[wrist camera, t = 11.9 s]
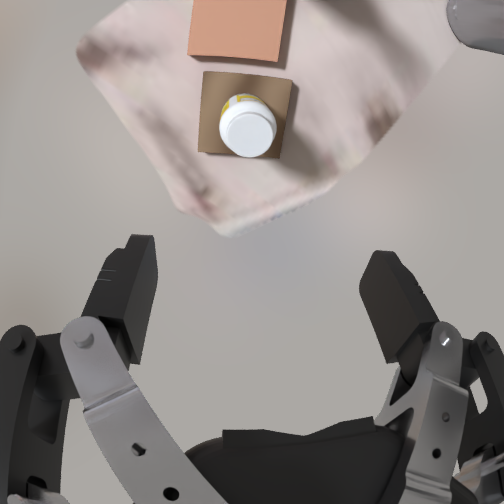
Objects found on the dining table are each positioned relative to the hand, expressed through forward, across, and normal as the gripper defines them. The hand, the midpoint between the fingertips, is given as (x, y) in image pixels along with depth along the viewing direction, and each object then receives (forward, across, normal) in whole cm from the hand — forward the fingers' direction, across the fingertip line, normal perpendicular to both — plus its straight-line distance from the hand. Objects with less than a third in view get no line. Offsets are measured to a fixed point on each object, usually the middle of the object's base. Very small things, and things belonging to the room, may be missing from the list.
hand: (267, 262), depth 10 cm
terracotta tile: (+27, +2, -12) cm, 30 cm away
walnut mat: (+27, 0, 0) cm, 27 cm away
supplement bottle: (+26, 0, 0) cm, 26 cm away
